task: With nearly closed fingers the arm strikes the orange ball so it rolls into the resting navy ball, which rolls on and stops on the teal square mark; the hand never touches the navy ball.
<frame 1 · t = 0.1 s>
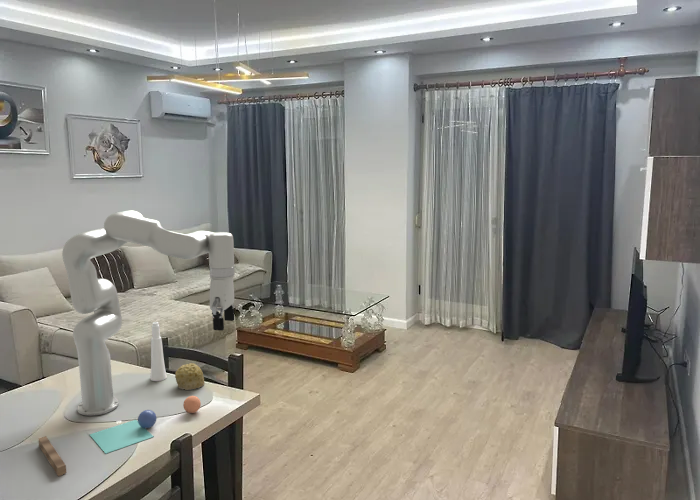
hand: (224, 325, 170), 31 cm above the table, tool pointing down, fingers open, 9 cm apart
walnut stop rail: (52, 459, 150), on the table
rock: (190, 386, 199), on the table
teal mark: (121, 436, 163), on the table
cosmetic bottle: (158, 378, 205), on the table
orange ball: (192, 404, 178), on the table
navy ball: (147, 419, 168), on the table
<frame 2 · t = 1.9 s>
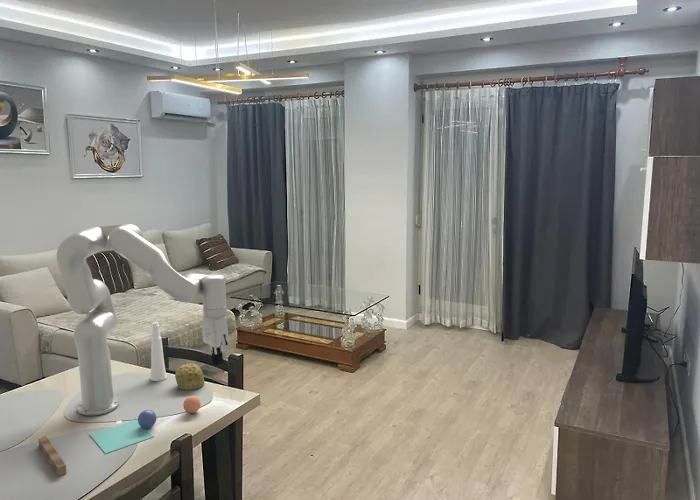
hand: (217, 363, 182), 14 cm above the table, tool pointing down, fingers closed
nothing on the table moved.
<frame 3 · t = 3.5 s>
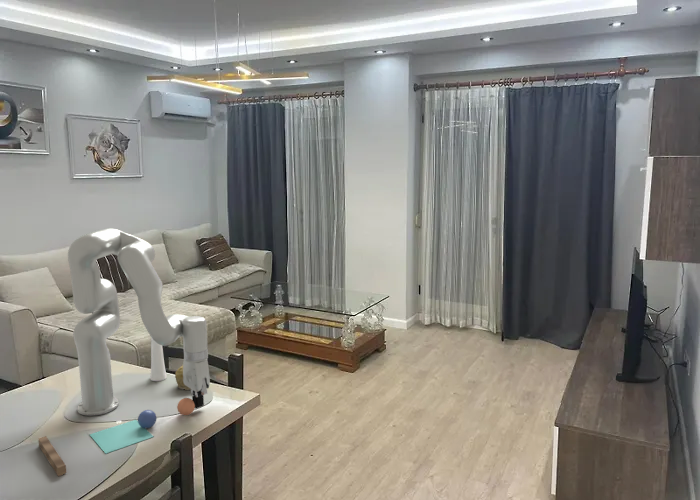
hand: (198, 406, 179), 1 cm above the table, tool pointing down, fingers closed
orange ball: (186, 406, 176), on the table
everything else where it was.
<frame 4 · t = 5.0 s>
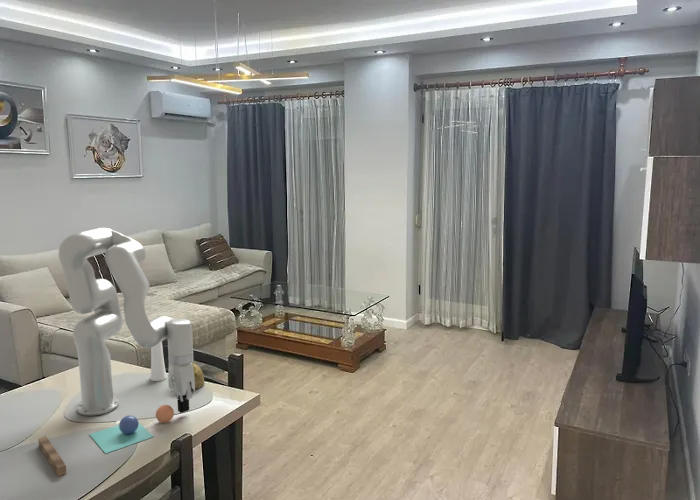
hand: (183, 410, 176), 1 cm above the table, tool pointing down, fingers closed
orange ball: (164, 413, 171), on the table
navy ball: (128, 424, 164), on the table
everything else where it was.
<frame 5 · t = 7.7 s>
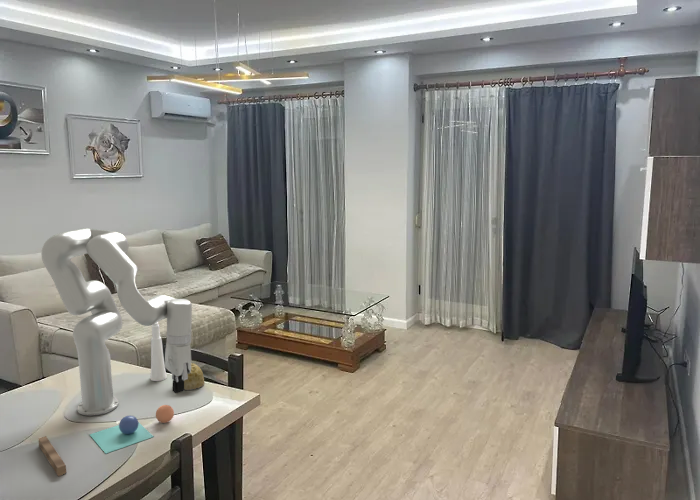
hand: (178, 391, 175), 8 cm above the table, tool pointing down, fingers closed
nothing on the table moved.
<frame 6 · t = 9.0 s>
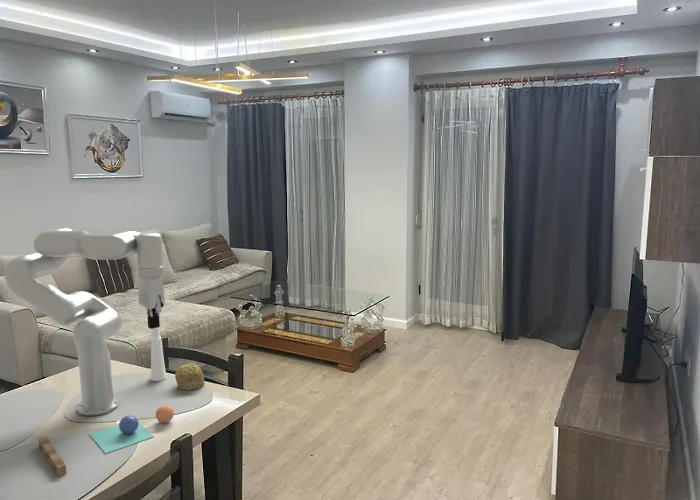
hand: (153, 327, 173), 29 cm above the table, tool pointing down, fingers closed
nothing on the table moved.
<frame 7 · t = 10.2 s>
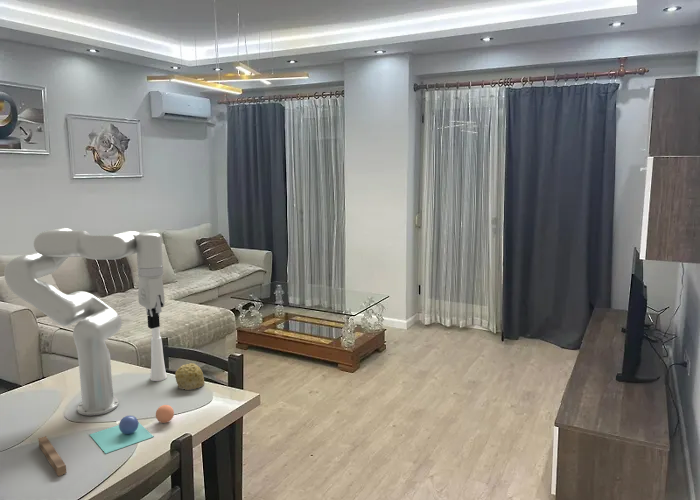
hand: (153, 327, 173), 29 cm above the table, tool pointing down, fingers closed
nothing on the table moved.
at the end: navy ball 2.4 cm from the teal mark (horizontally); navy ball never touched the robot; orange ball first touched navy ball at 3.9 s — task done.
